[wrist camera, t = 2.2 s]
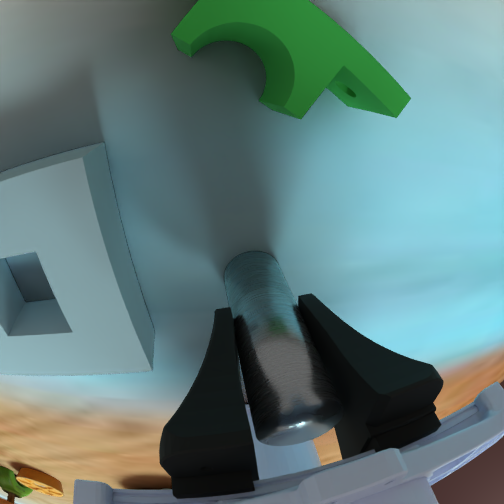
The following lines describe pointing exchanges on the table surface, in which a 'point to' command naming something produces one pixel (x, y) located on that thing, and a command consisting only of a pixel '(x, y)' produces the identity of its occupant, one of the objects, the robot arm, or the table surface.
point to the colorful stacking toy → (27, 484)
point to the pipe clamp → (295, 53)
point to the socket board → (70, 272)
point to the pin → (278, 355)
